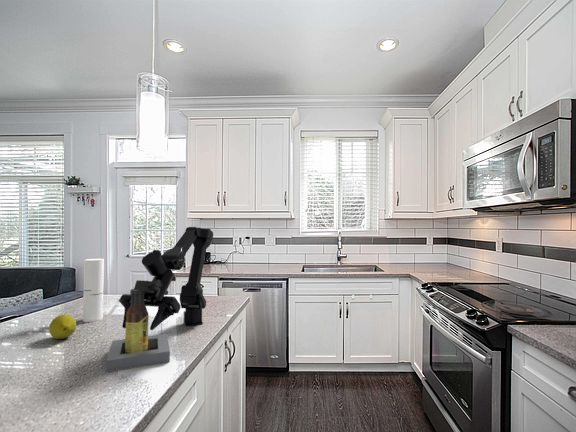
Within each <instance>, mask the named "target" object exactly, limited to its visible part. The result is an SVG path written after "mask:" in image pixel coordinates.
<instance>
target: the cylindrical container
mask: <svg viewBox="0 0 576 432" xmlns="http://www.w3.org/2000/svg"><path fill="white" fill-rule="evenodd" d="M104 272H105V259H104V258H87V259H84V261H83V292H82V296H83V297H82V299H83V300H82V322H83V323H85V322H86V323H89V322H90V323H93V322H98V321H101V320H103V319H104V318H103V317H104V315H103V314H104V284H105V283H104V280H105V279H104V277H105V276H104V274H105V273H104Z"/></svg>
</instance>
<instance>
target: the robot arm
mask: <svg viewBox="0 0 576 432" xmlns="http://www.w3.org/2000/svg"><path fill="white" fill-rule="evenodd" d="M213 238H214V231H212V230H211V228H205V227H204V228H202V227H198V226H188V227H186V228H185V231H184V233H183V235H182V236H181V237H180V238H179V239H178V241H177V242H176V243H175V244H174V246H173V247H172V248H170V249H167V250H166V251H165V252H164V253H161V251H160V249H153V250H152V252H149V253H147V254H146V255H145V256H143V257H142V259H141V264H142V265H143V267H144V268H145V269H146V272H148V273H149V275H150V276H152V280H142V279H141V280H136V281H135V285H134V287H133V289H134V290H142V291H145V294H144V301H145V302H144V303H145V306H146V307H157V312H156V314H155V316H154V318H153V320H152V322H151V323H150V326H149V329H150V331H154V330H155V329H156V328H157V327H158V326H160V325H161V323H163V322H164V321H165V320H167V319H168V318H169V317H172V316H174V315H175V314H179V312H180V310H181V309H184V311H183V324H185V326H186V327H188V326H189V327H190V326H196V325H203V324H204V322H203V309H206V307H207V300H206V298H205V297H204V290H203V287H202V285H201V280H202V275H203V270H204V263H205V258H206V252H207V249H208V248H209V247H210V246H211V244H212V241H213ZM192 245H193V253H192V258H191V263H190V264H191V265H190V269H189V273H188V280H187V282H186V283H185V284H184V285H182V286H181V290H180V293H179V301H178V300H177V298H176V297H175V296H169V295H168V294H169V291H168V289H169V288H170V284H171V283H172V282H176V280H177V279H176V278H177V277H176V275H175V273H174V272H173V271H180V270H181V269H182V268H183V266H184V264H185V262H186V257H185V256H186V255H187V252H188V251H189V249H190V248H191V247H192ZM118 302H119V304H120V305H122V307H123V309H124V312H123V313H124V315H123V319H122V320H123V322H122V326H121V327H122V328H123V329H126V313H127V310H128V308H129V307H130V305H131V303H130V302H131V294H129V293H124V294H121V296H120V297H119V300H118Z"/></svg>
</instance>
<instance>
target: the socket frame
mask: <svg viewBox="0 0 576 432" xmlns="http://www.w3.org/2000/svg"><path fill="white" fill-rule="evenodd" d="M150 349H151V350H150ZM170 351H171V349H170V344H169V337H168V334H167V333H164V334H163V333H162V334H157V335H148V349H147V351H142V352H135V353H128V354H126V352H125V338H124V339H117V340H112V342H111V345H110V347H109V351H108V354H107V357H106V360H105V372H106V373H107V372H113V371H114V372H115V371H121V370H126V369H128V370H129V369H132V368H133V369H134V368H139V367H145V366H146V367H147V366H152V365H157V364H158V365H159V364H164V363H170V361H171V360H170V359H171V357H170V356H171V355H170V354H171V352H170Z"/></svg>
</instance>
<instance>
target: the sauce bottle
mask: <svg viewBox="0 0 576 432" xmlns="http://www.w3.org/2000/svg"><path fill="white" fill-rule="evenodd" d="M130 294H131V302H130V303H131V305H130V307H129V308H128V310H127V313H126V328H125V335H124V336H125V338H124V339H125V352H124V353H125V354H128V353H135V352H142V351H148V350H149V349H148V336H149V312H148V309H147V306H145V303H144V302H145V301H144V294H145V291H142V290H134V288H131V289H130Z"/></svg>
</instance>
